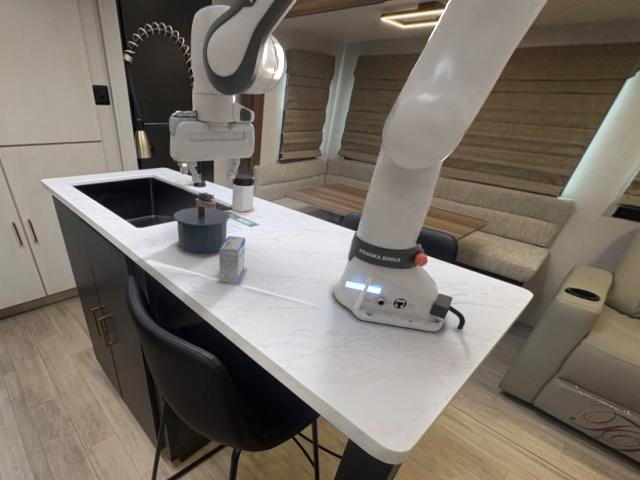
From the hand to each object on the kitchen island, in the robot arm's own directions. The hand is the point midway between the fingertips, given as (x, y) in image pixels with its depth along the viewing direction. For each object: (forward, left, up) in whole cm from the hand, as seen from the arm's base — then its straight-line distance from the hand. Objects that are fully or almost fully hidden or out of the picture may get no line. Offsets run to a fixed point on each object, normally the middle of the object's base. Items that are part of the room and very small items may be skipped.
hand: (214, 180), depth 72 cm
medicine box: (-8, +7, -20) cm, 23 cm away
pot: (+7, -5, -20) cm, 22 cm away
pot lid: (+7, -5, -11) cm, 14 cm away
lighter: (+16, -23, -20) cm, 34 cm away
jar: (+12, -45, -20) cm, 51 cm away
